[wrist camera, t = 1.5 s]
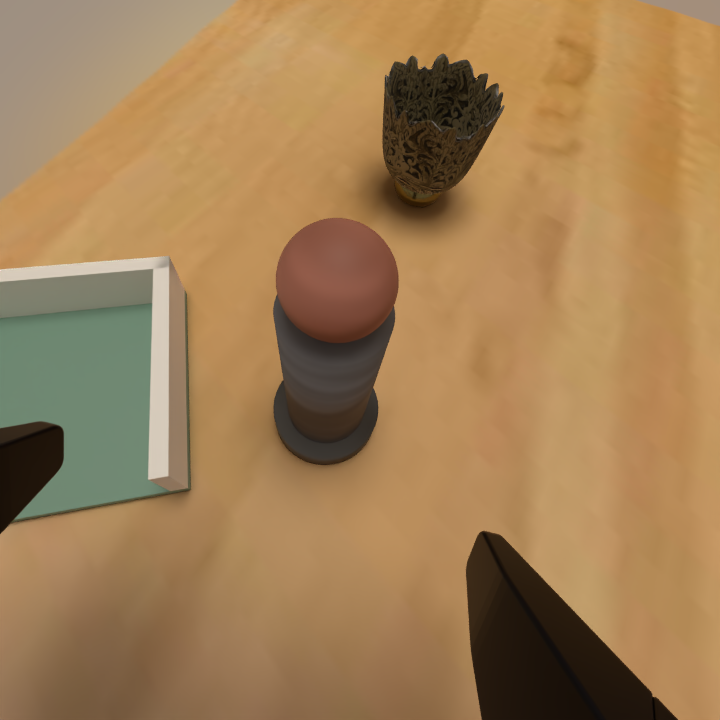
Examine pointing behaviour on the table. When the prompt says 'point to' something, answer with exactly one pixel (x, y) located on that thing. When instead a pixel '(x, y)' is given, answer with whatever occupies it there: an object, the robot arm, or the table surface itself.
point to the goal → (99, 377)
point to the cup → (435, 125)
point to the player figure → (332, 337)
